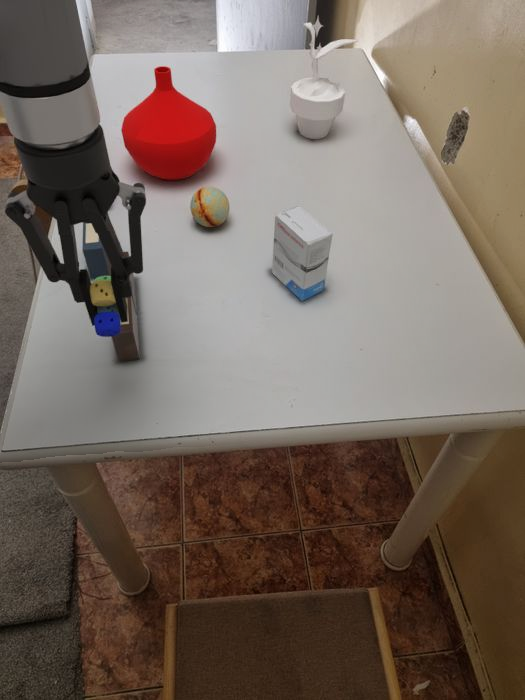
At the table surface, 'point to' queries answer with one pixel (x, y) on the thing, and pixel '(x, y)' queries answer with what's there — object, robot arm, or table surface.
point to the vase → (169, 132)
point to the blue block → (94, 252)
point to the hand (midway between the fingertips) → (109, 315)
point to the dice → (105, 307)
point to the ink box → (300, 252)
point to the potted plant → (317, 93)
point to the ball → (209, 206)
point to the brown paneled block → (128, 328)
